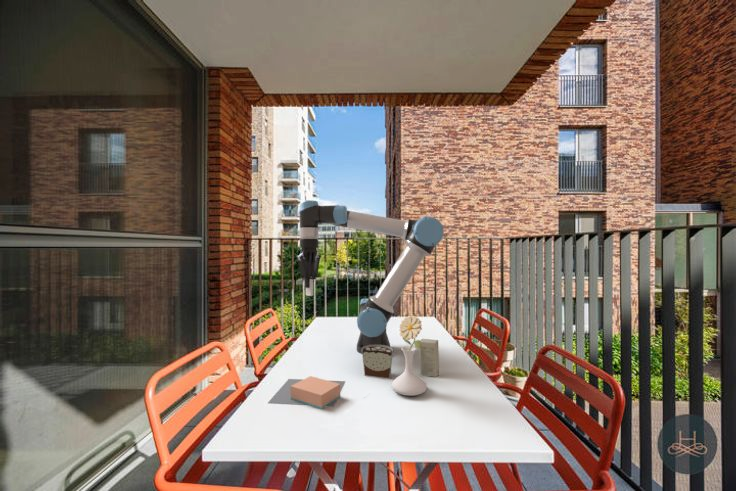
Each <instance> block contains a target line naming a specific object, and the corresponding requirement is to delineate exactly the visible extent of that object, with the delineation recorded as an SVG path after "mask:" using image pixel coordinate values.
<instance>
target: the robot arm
mask: <svg viewBox="0 0 736 491" xmlns="http://www.w3.org/2000/svg"><path fill="white" fill-rule="evenodd" d="M347 208H348V207H347V206H346V205H339V204H337V205H336V204H335V205H319V202H318V201H317V200H310V199H307V200H302V201H301V202H299V237H300V239H299V248H301V251H300V254H299V255H296V259H297V262H298V268H299V274H300V279H302V280H303V281H304V287H305V296H308V297H312V296H314V285H315V284H314V280H316V279H317V278H318V276H319V275H318V274H319V269H320V268H319V267H320V260H321V258H322V254H318V248H319V224H320V225H333V226H335V227H342V228H349V229H353V230H360V231H365V232H371V233H376V234H381V235H387V236H392V237H397V238H402V239H403V241H405V244H406V245H405V247H404V248H403V250H402V252H401V253H400V254H399V257H398V258H397V259H396V261H395V262H394V264H393V265H392V267H391V269H390V271H389V272H388V274H387V275H386V277H385V279H384V281H383V282H382V283H381V285H380V286H379V289H378V291H377V292H376V293H375V295H371V296H369V298H361V299H360V301H359V307H360V309H359V310H360V311H359V313H358V315H357V318H356V324H357V328H358V330H359V331H360V334H359V335H358V339H357V343H356V351H357V352H358V354H359V353H360V354H362V353H361V349H362V348H363V347H364V346H368V345H386V346H389V347H391V343H390V339H389V337H388V334H387V326H388V323H389V321H390V320H391V318H392V316H393V315H394V313H395V309H394V306H395V305H396V302H397V301H398V299H399V298H400V297H401V295H402V293H403V291H404V290H405V288H406V286H407V285H408V284H409V282H410V280H411V279H412V277H413V275H414V274H415V272H416V271H417V269H418V268H419V266H420V264H421V262H422V261H423V260H424V258H425V257H428V256H430V255H431V254H432V252H433V251H434V249H435V248H436V246H437V245H438V244H439V243H440V242H441V241H442V239H443V238H444V233H445V231H444V226H443V224H442V223H441V221H440V220H439V219H438V218H436V217H433V216H422V217H420V218H419V219H410V218H406V220H402V219H398V218H391V217H387V216H381V215H374V214H368V213H363V212H356V211H352V210H348V209H347Z"/></svg>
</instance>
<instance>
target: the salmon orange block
mask: <svg viewBox="0 0 736 491" xmlns="http://www.w3.org/2000/svg"><path fill="white" fill-rule="evenodd" d="M331 381H332V380H327V379H323V378H319V377H316V376H312V375H310V376H308V377H306V378H304V380H302V381H300V382H298V383H296V384H294V385H292V386H290V387H291V400H294V401H297V402H300V403H303V404H306V405H305V406H310V407H313V408H315V409H319V410H323V409H324V408H326V407H328V406H327V405H329V404H331V403H332V402H334V401H335V400H337V401H338V399H340V398H341V392H340V384H339V383H335V382H331Z"/></svg>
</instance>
